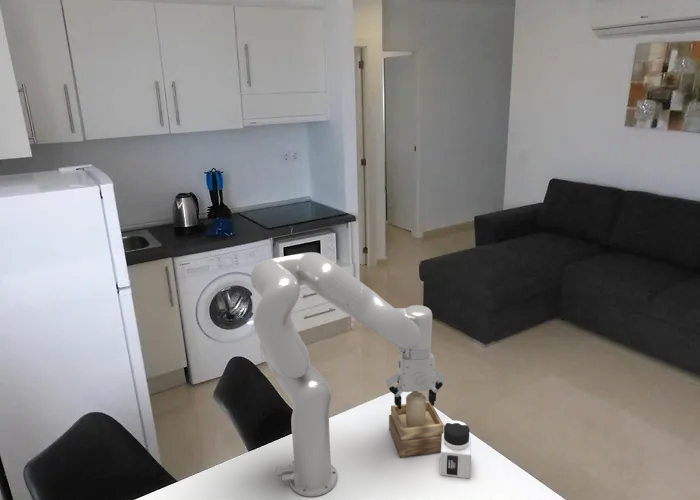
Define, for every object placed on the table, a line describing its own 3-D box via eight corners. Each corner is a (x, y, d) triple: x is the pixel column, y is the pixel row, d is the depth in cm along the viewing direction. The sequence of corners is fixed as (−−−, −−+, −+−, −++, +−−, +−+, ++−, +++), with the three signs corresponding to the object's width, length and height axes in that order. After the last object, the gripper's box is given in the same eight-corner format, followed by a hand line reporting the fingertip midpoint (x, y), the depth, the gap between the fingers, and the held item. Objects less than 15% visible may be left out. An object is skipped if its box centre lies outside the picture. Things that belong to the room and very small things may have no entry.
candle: (404, 419, 152) (404, 389, 149) (422, 417, 153) (423, 387, 150) (408, 430, 147) (408, 400, 144) (427, 429, 148) (428, 398, 145)
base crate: (400, 458, 144) (400, 443, 143) (389, 429, 157) (389, 415, 155) (445, 452, 146) (446, 437, 145) (430, 423, 159) (430, 409, 157)
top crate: (401, 441, 144) (401, 430, 143) (391, 415, 155) (390, 405, 154) (443, 435, 146) (443, 425, 145) (429, 410, 157) (430, 400, 156)
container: (470, 479, 136) (472, 437, 132) (440, 475, 138) (441, 433, 134) (469, 459, 143) (471, 418, 140) (441, 456, 145) (442, 415, 141)
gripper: (389, 359, 138) (388, 415, 143) (451, 353, 141) (448, 409, 146) (383, 346, 145) (382, 400, 150) (442, 341, 148) (439, 394, 153)
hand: (415, 404), depth 148 cm, fingers open, 9 cm apart
